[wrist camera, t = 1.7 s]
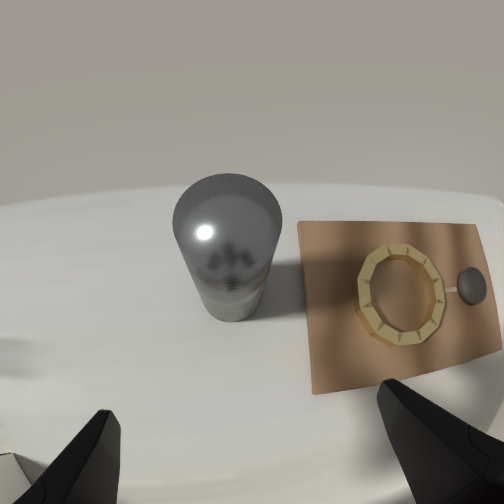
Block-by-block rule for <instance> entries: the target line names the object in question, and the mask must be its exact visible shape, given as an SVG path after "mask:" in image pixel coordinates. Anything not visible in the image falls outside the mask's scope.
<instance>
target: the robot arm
mask: <svg viewBox="0 0 504 504" xmlns="http://www.w3.org/2000/svg"><path fill="white" fill-rule="evenodd" d="M377 403H378V406H379V409H380V412H381V415H382V419H383V422H384V425H385V428H386V432H387V435H388V437H389V440H390V442H391V444H392V447H393V449H394V451H395V453H396V456H397V458H398V460H399V463H400V465H401V467H402V470H403V472H404V474H405V477H406V479H407V481H408V484H409V486H410V489H411V491H412V494H413V496H414V498H415V501H416V503H417V504H504V442H503V441H500V440H498V439H496V438H493V437H491V436H489V435H487V434H485V433H483V432H482V431H480V430H478V429H476V428H474V427H473V426H471V425H469V424H467V423H466V422H464V421H463V420H461V419H459V418H458V417H456V416H454V415H453V414H451V413H449V412H448V411H446V410H444V409H443V408H441V407H439V406H438V405H436V404H435V403H433V402H431V401H430V400H428V399H426V398H425V397H423V396H422V395H420V394H418V393H417V392H415V391H414V390H412V389H410V388H409V387H407V386H406V385H404V384H402V383H401V382H399V381H398V380H396V379H394V378H390V379H386V380H383V381H382V382H381V385H380V388H379V391H378V394H377ZM120 437H121V428H120V424H119V422H118V421H117V419H116V417H115V415H114V414H113V412H112V411H111V410H103V409H102V410H99V411H98V412H97V413H96V414H95V415H94V416H93V417H92V418H91V419H90V421H89V422H88V423H87V424H86V425H85V426H84V427H83V428H82V430H81V431H80V432H79V433H78V434H77V435H76V436H75V437H74V438H73V440H72V441H71V442H70V443H69V444H68V445H67V446H66V447H65V449H64V450H63V451H62V452H61V453H60V454H59V455H58V456H57V458H56V459H55V460H54V461H53V462H52V463H51V464H50V465H49V467H48V468H47V469H46V470H45V471H44V472H43V473H42V475H41V476H40V477H39V478H38V479H37V480H36V481H35V482H34V483H33V484H32V485H31V487H30V488H29V489H28V490H27V491H26V492H24V493H23V494H22V495H21V496H20V497H19V498H18V499H17V500H16V501H15V502H13V503H12V504H116V502H117V492H118V482H119V473H120Z"/></svg>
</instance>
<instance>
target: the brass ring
mask: <svg viewBox="0 0 504 504" xmlns="http://www.w3.org/2000/svg"><path fill="white" fill-rule="evenodd" d="M383 260H402V261H404V262H405V263H407V264H408V265H410V266H412V267H413V268H415V269H416V270H417V271H418V273H419V275H420V276H421V278H422V279H423V281H424V283H425V284H426V287H427V294H428V301H429V306H428V309H427V312H426V315H425V318H424V321H423V323H421V324H420V325H419V326H418V327H417V328H416V329H415V330H414V331H412V332H403V333H400V332H398V331H396V330H395V329H393V328H391V327H389V326H387V325H386V324H384V323H383V322H382V320H381V319H380V317H379V316H378V314H377V312H376V311H375V309H374V307H373V306H372V304H371V295H370V286H369V281H370V279H371V276H372V274H373V271H374V269H375V266H376V265H378V264H379V263H380V262H382V261H383ZM440 278H441V277H440V275H439V274H438V272H437V271H436V269H435V267H434V266H433V264H432V263H431V261H430V260H429V258H427V256H426V255H424V254H423V253H421V252H420V251H418V250H416V249H415V248H413V247H412V246H410V245H409V244H393V243H386V244H384V245H383V246H381V247H380V248H378V249H376V250H375V251H373V252H372V253H370V254H369V255H367V256H366V257H365V258H364V259H363V260H362V261H361V264H360V266H359V268H358V271H357V273H356V275H355V278H354V280H353V282H352V291H353V303H354V311H355V313H356V315H357V317H358V318H359V320H360V322H361V323H362V325H363V326H364V328H365V330H366V331H367V333H368V335H369V336H371V337H373V338H375V339H377V340H378V341H380V342H382V343H384V344H386V345H388V346H389V347H400V346H408V345H415V344H419V343H422V342H423V341H424V340H425V339H426V338H427V337H428V336H429V335H430V334H431V333H432V332H434V331H435V330H436V329H437V328H438V326H439V323H440V320H441V316H442V313H443V309H444V306H445V299H444V292H443V286H442V280H441V279H440Z"/></svg>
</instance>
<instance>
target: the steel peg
mask: <svg viewBox="0 0 504 504" xmlns="http://www.w3.org/2000/svg"><path fill="white" fill-rule="evenodd" d="M172 223H173V231H174V235H175V238H176V240H177V243H178V245H179V248H180V250H181V253H182V255H183V257H184V260H185V262H186V264H187V267H188V269H189V272H190V274H191V276H192V279H193V281H194V283H195V285H196V288H197V290H198V292H199V294H200V297H201V299H202V301H203V303H204V306H205V308H206V309H207V311H208V312H209V313H210V314H211V315H212V316H213V317H215V318H217V319H218V320H221V321H224V322H238V321H241V320H244V319H246V318H247V317H249V316H250V315H251V314H252V313H253V312H254V311H255V309H256V308H257V306H258V303H259V300H260V297H261V294H262V291H263V288H264V284H265V281H266V278H267V275H268V272H269V269H270V265H271V262H272V259H273V256H274V253H275V249H276V246H277V243H278V240H279V236H280V233H281V229H282V213H281V209H280V206H279V204H278V201H277V200H276V198H275V196H274V195H273V194H272V193H271V191H270V190H269V189H268V188H267V187H266V186H264V185H263V184H262V183H260V182H258V181H257V180H255V179H252V178H250V177H247V176H244V175H239V174H231V173H230V174H228V173H227V174H217V175H213V176H209V177H206V178H204V179H202V180H200V181H198V182H196V183H195V184H193V185H192V186H191V187H189V188H188V189H187V190H186V191H185V192H184V193H183V195H182V196H181V197H180V199H179V201H178V202H177V204H176V207H175V210H174V214H173V222H172Z"/></svg>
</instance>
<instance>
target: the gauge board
mask: <svg viewBox="0 0 504 504" xmlns="http://www.w3.org/2000/svg"><path fill="white" fill-rule="evenodd" d="M297 229H298V237H299V245H300V254H301V263H302V273H303V282H304V292H305V303H306V314H307V325H308V337H309V350H310V365H311V380H312V394H314V395H317V394H325V393H332V392H339V391H346V390H352V389H358V388H363V387H369V386H374V385H379V384H381V382H382V381H383V380H386V379H390V378H394V379H396V380H402V379H407V378H411V377H415V376H419V375H423V374H427V373H430V372H434V371H437V370H441V369H444V368H448V367H451V366H454V365H458V364H461V363H464V362H467V361H470V360H473V359H476V358H479V357H482V356H484V355H487V354H490V353H493V352H495V351H498V350H501V349H502V341H501V333H500V325H499V319H498V313H497V307H496V301H495V296H494V291H493V287H492V282H491V278H490V273H489V269H488V265H487V262H486V258H485V254H484V251H483V247H482V244H481V240H480V237H479V234H478V231H477V228H476V224H452V223H423V222H381V221H299V222H298V224H297ZM386 243H393V244H409V245H410V246H412V247H413V248H415V249H416V250H418V251H420V252H421V253H423V254H424V255H426V256H427V258H429V260H430V261H431V263H432V264H433V266H434V267H435V269H436V271H437V272H438V274H439V275H440V277H441V278H440V279H441V280H442V286H443V292H444V299H445V306H444V309H443V313H442V316H441V320H440V323H439V326H438V328H437V329H436V330H435V331H434V332H432V333H431V334H430V335H429V336H428V337H427V338H426V339H425V340H424V341H423V342H422V343H419V344H415V345H408V346H400V347H389V346H388V345H386V344H384V343H382V342H380V341H378V340H377V339H375V338H373V337H371V336H369V335H368V333H367V331H366V330H365V328H364V326H363V325H362V323H361V322H360V320H359V318H358V317H357V315H356V313H355V311H354V303H353V291H352V282H353V280H354V278H355V275H356V273H357V271H358V268H359V266H360V264H361V261H362V260H363V259H364V258H365V257H366V256H367V255H369V254H370V253H372V252H373V251H375V250H376V249H378V248H380V247H381V246H383V245H384V244H386ZM369 286H370V295H371V304H372V306H373V307H374V309H375V311H376V312H377V314H378V316H379V317H380V319H381V320H382V322H383V323H384V324H386V325H387V326H389V327H391V328H393V329H395V330H396V331H398V332H400V333H403V332H412V331H414V330H415V329H416V328H417V327H418V326H419V325H420V324H421V323H423V321H424V318H425V315H426V312H427V309H428V306H429V301H428V294H427V287H426V284H425V283H424V281H423V279H422V278H421V276H420V275H419V273H418V271H417V270H416V269H415V268H413V267H412V266H410V265H408V264H407V263H405V262H404V261H402V260H383V261H382V262H380V263H379V264H378V265H376V266H375V269H374V271H373V274H372V276H371V279H370V281H369Z"/></svg>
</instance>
